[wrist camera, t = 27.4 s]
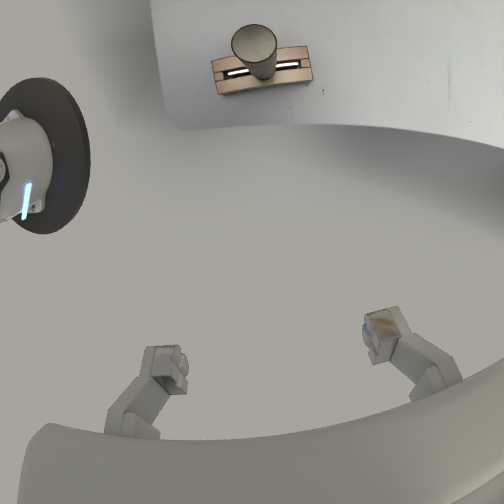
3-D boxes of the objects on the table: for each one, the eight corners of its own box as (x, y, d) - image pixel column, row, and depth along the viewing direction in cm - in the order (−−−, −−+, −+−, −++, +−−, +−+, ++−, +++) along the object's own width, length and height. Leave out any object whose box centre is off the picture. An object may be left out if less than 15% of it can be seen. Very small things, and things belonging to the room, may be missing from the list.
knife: (236, 87, 29) (198, 75, 14) (232, 67, 27) (190, 37, 13) (296, 78, 27) (319, 56, 13) (292, 58, 26) (310, 17, 12)
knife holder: (223, 95, 29) (217, 94, 26) (217, 64, 27) (210, 60, 24) (309, 82, 28) (313, 80, 25) (303, 51, 26) (306, 45, 23)
